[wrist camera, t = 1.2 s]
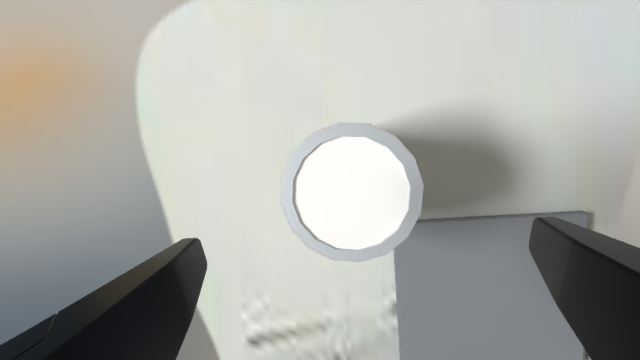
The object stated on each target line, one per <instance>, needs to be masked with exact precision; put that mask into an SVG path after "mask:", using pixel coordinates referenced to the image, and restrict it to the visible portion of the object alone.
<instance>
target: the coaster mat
mask: <svg viewBox="0 0 640 360" xmlns="http://www.w3.org/2000/svg"><path fill="white" fill-rule="evenodd" d="M543 216H554V217H557V218H560V219H563V220H565V221H568V222H571V223H573V224H576V225H579V226H581V227H584V228H588V213H585V212H582V211H576V212H558V213H540V214H522V215H505V216H487V217H469V218H451V219H434V220H417V221H416V223H415V225H414V227H413V229H412V230H411V232H410V234H409V236H408V237H407V238H406V239H405V240H404V241H402V242H401V243H400V244H399V245H397V246H396V247H395V248H394V263H395V280H396V297H397V315H398V332H399V349H400V360H583V351H584V347H583V346H582V344H581V343H580V341H579V339H578V338H577V336H576V335H575V333H574V332H573V330H572V329H571V327H570V325H569V324H568V322H567V321H566V319H565V318H564V316H563V315H562V313H561V311H560V310H559V308H558V306H557V305H556V303H555V301H554V299H553V297H552V296H551V294H550V292H549V290H548V288H547V286H546V284H545V282H544V280H543V278H542V276H541V274H540V272H539V270H538V268H537V266H536V264H535V262H534V260H533V258H532V256H531V253H530V251H529V239H530V233H531V228H532V223H533V220H534V219H535V218H536V217H543Z"/></svg>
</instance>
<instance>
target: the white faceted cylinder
mask: <svg viewBox="0 0 640 360" xmlns="http://www.w3.org/2000/svg"><path fill="white" fill-rule="evenodd" d="M423 189H424V184H423V181H422V178H421V175H420V172H419V169H418V166H417V162H416V159H415V157H414V156H413V155H412V154H411V153H410V152H409V150H408V149H407V148H406V147H405V146H404V145H403V144H402V143H401V141H400V140H399V139H398V138H397V137H396V136H395V135H392V134H390V133H388V132H386V131H384V130H382V129H380V128H378V127H376V126H373V125H371V124H369V123H347V122H339V123H336V124H334V125H331V126H328V127H326V128H323V129H320V130H317V131H315V132H313V133H312V134H310V135H309V136H308V137H307V138H306V139H305V140H304V141H303V142H302V143H301V144H300V145H299V146H298V147H296V148H295V149H294V150H293V151H292V153H291V156H290V158H289V160H288V162H287V164H286V167H285V169H284V171H283V173H282V176H281V206H282V209H283V211H284V214H285V216H286V219H287V222H288V224H289V227H290V229H291V230H292V231H293V232H294V233H295V234H296V235H297V236H298V238H299V239H300V240H301V241H302V242H303V243H304V244H305V245H306V246H307V247H308V248H309V249H311V250H313V251H315V252H317V253H319V254H321V255H323V256H325V257H327V258H329V259H331V260H338V261H350V262H363V261H366V260H369V259H373V258H376V257H379V256H383V255H386V254H387V253H389V252H390V251H391V250H392V249H394V248H395V247H396V246H397V245H399V244H400V243H401V242H402V241H404V240H405V239H406V238H407V237H408V236H409V234H410V232H411V230H412V229H413V227H414V225H415V223H416V221H417V220H418V218H419V216H420V214H421V209H422V199H423Z"/></svg>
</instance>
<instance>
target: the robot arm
mask: <svg viewBox="0 0 640 360" xmlns="http://www.w3.org/2000/svg"><path fill="white" fill-rule="evenodd" d="M529 251H530V253H531V256H532V258H533V260H534V262H535V264H536V266H537V268H538V270H539V272H540V274H541V276H542V278H543V280H544V282H545V284H546V286H547V288H548V290H549V292H550V294H551V296H552V297H553V299H554V301H555V303H556V305H557V306H558V308H559V310H560V311H561V313H562V315H563V316H564V318H565V319H566V321H567V322H568V324H569V325H570V327H571V329H572V330H573V332H574V333H575V335H576V336H577V338H578V339H579V341H580V343H581V344H582V346H583V347H584V349H585V350H586V352H587V353H588V355H589V357H590V358H591V360H640V248H638V247H635V246H632V245H630V244H627V243H624V242H622V241H619V240H616V239H614V238H611V237H608V236H606V235H603V234H600V233H598V232H595V231H592V230H589V229H587V228H584V227H581V226H579V225H576V224H573V223H571V222H568V221H565V220H563V219H560V218H557V217H554V216H543V217H536V218H535V219H534V220H533V223H532V228H531V233H530V239H529ZM206 270H207V260H206V257H205V254H204V251H203V247H202V244H201V242H200V240H199V239H198V238H185V239H182V240H180V241H179V242H177V243H175V244H173V245H172V246H170V247H168V248H167V249H165V250H163V251H162V252H160V253H158V254H156V255H155V256H153V257H151V258H150V259H148V260H146V261H145V262H143V263H141V264H139V265H138V266H136V267H134V268H133V269H131V270H129V271H127V272H126V273H124V274H122V275H120V276H119V277H117V278H115V279H114V280H112V281H110V282H109V283H107V284H105V285H103V286H102V287H100V288H98V289H97V290H95V291H93V292H91V293H90V294H88V295H86V296H85V297H83V298H81V299H80V300H78V301H76V302H74V303H73V304H71V305H69V306H68V307H66V308H64V309H63V310H61V311H59V312H58V314H54V315H52V316H50V317H49V318H47V319H45V320H44V321H42V322H40V323H39V324H37V325H35V326H33V327H31V328H30V329H28V330H26V331H25V332H23V333H21V334H19V335H17V336H16V337H14V338H12V339H10V340H8V341H7V342H5V343H3V344H1V345H0V360H176V357H177V355H178V353H179V350H180V348H181V345H182V343H183V340H184V338H185V335H186V333H187V331H188V328H189V326H190V323H191V321H192V318H193V315H194V312H195V309H196V305H197V302H198V298H199V295H200V291H201V288H202V284H203V281H204V277H205V274H206Z"/></svg>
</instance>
